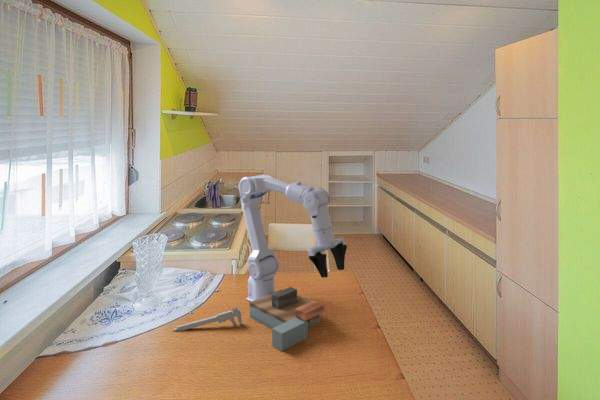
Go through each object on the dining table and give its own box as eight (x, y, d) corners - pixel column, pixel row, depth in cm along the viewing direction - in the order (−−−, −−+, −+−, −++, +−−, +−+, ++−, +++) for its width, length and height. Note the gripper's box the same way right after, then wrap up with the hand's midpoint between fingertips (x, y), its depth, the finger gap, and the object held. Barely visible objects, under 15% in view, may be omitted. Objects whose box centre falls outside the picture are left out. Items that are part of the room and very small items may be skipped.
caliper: (241, 324, 124) (240, 305, 123) (241, 325, 123) (240, 306, 122) (173, 330, 120) (172, 311, 119) (173, 332, 119) (171, 312, 118)
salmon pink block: (295, 316, 116) (295, 308, 116) (314, 307, 122) (314, 300, 121) (305, 321, 113) (305, 313, 113) (323, 312, 119) (323, 304, 119)
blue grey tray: (234, 323, 124) (233, 308, 123) (282, 303, 137) (282, 289, 136) (281, 351, 108) (281, 333, 107) (330, 325, 122) (330, 309, 121)
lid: (249, 307, 127) (249, 290, 126) (282, 294, 137) (281, 278, 136) (297, 332, 112) (297, 312, 111) (330, 315, 121) (330, 297, 120)
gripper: (315, 233, 111) (326, 280, 111) (348, 222, 121) (358, 266, 121) (298, 235, 116) (309, 280, 116) (331, 224, 126) (340, 266, 126)
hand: (333, 273), depth 119 cm, fingers open, 7 cm apart
